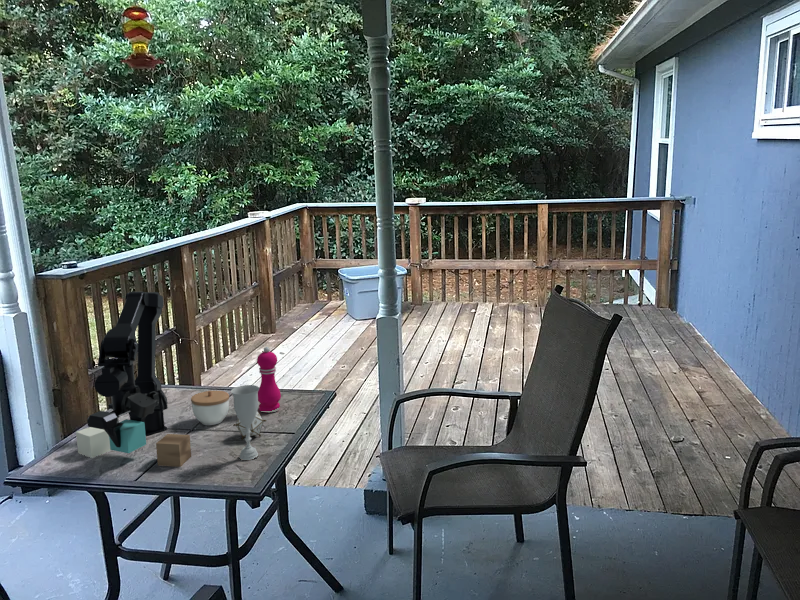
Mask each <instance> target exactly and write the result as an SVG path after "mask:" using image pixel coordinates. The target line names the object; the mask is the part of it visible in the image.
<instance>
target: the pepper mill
mask: <svg viewBox="0 0 800 600" xmlns="http://www.w3.org/2000/svg"><path fill="white" fill-rule="evenodd" d="M256 359H257V360H256V364H257V365H258V366H259V369H258V370H259V371H258V372H259V374H260V376H261V378H260V379H261V381H260V384H259V386H258V387H259V390H258V403H259V404H258V411H259V410H260V411H272V410H275V409H277V408H279V407H280V408H281V404H280V402H279V401H280V400H281V399H282V395H281V394H282V393H281V390H280V387H279V386H278V384H277V382H276V379H275V378H276V377H275V375H276V373H277V367H276V365H277V363H278V357H277V355H276V353H275V352H273V351H271V350H270V348H269V347H268V346H265V347H264V348H263V351H262V352H261V353H259V354H258V356H257V358H256ZM260 411H259V412H260Z"/></svg>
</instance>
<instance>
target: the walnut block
mask: <svg viewBox="0 0 800 600" xmlns="http://www.w3.org/2000/svg"><path fill="white" fill-rule="evenodd" d="M191 445H192V444H191V436H190V434H177V433H176V434H175V433H167V434H166V435H164V436H163V437H162V438H160V439H159V440H158V441H157V442H156V443H155V446H156V447H155V448H156V459H157V466H159V467H173V468H174V467H175V468H181V467H182V466H183V465H184V464H185V463H186V462H187V461H189V460H190V459H191V458H192V448H191Z"/></svg>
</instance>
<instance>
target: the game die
mask: <svg viewBox="0 0 800 600" xmlns="http://www.w3.org/2000/svg"><path fill="white" fill-rule="evenodd" d="M264 422H265V423H266V422H267V420H266V419H264V418H263V417H262V416H261V414H260V411H259V410H257V413H256V416H255V418H254V421H253V423H252V424H250V425H249V429H250V431H251V432H250V437H253V436H258V437H259V436H261V437H262V435H261V434H260V433H261V432H262V431H261V430H262V427H263V424H264ZM232 426H233V427H236V428H237V430H238V432H239V433H240V435H241V440H244V438H246V434H245V433H244V432H245V429H246V427H245V425H242V424H241V422H240V420H239V419H238V418H237V419H236V422H235V423H234V424H232Z"/></svg>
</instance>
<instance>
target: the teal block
mask: <svg viewBox="0 0 800 600" xmlns="http://www.w3.org/2000/svg"><path fill="white" fill-rule="evenodd" d="M119 423H123V425H122V426H121V428H120V436H121V447H116V446H115V444H114V443H113V441H112V440H111V438H110V437H109V440H110V450H112V451H114V452H115V451H116V452H120V453H124V454H130V453H133V452H134V451H136V450H139V449H141V448H143V447H144V446H146V445H147V437H146V436H147V435H146V434H145V423H144V422H140V421H134V420H130V418H129V419H128V418H127V419H126V418H125V419H124V420H121V421H119Z"/></svg>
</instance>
